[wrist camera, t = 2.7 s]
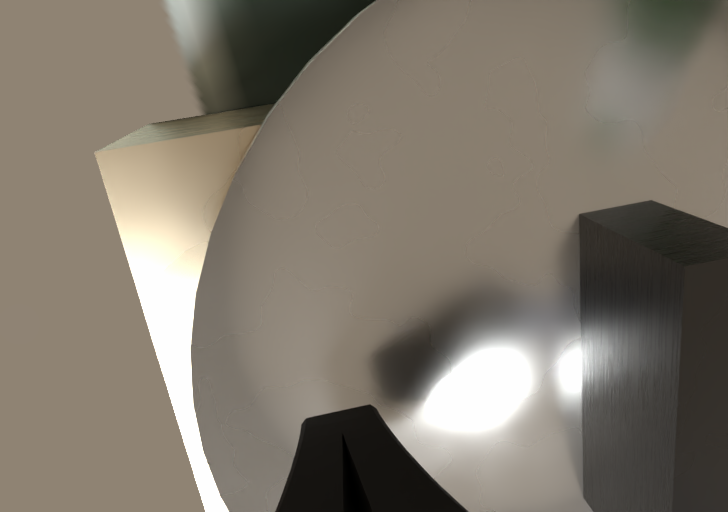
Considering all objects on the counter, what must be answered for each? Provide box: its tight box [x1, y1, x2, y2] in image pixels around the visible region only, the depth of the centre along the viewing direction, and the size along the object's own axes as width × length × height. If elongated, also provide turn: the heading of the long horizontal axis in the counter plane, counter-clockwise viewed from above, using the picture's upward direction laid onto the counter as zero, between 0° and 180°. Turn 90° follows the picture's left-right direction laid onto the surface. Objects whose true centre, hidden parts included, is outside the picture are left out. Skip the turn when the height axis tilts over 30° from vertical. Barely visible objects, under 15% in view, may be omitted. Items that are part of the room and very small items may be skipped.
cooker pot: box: [95, 103, 276, 512], centre depth 16 cm, size 24×28×5 cm
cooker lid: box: [190, 0, 728, 512], centre depth 11 cm, size 18×18×4 cm
